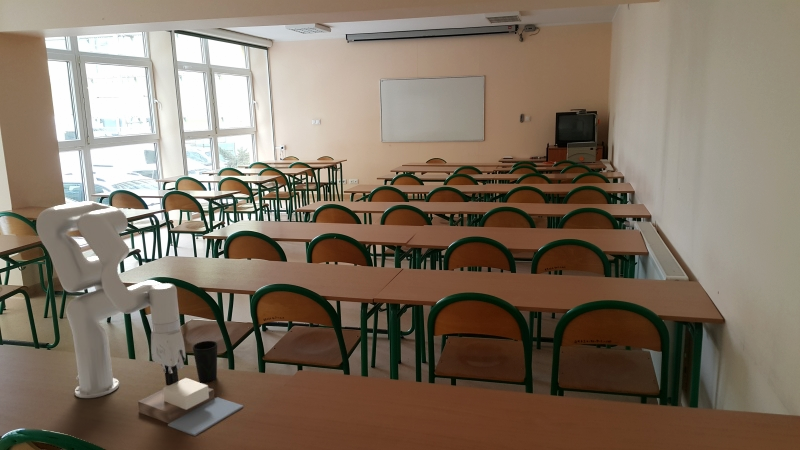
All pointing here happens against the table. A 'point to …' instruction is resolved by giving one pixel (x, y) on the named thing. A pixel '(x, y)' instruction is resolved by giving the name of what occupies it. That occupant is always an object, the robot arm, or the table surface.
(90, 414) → the table surface
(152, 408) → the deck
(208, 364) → the cup
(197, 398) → the cream rectangular block
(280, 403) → the table surface
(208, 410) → the mat
